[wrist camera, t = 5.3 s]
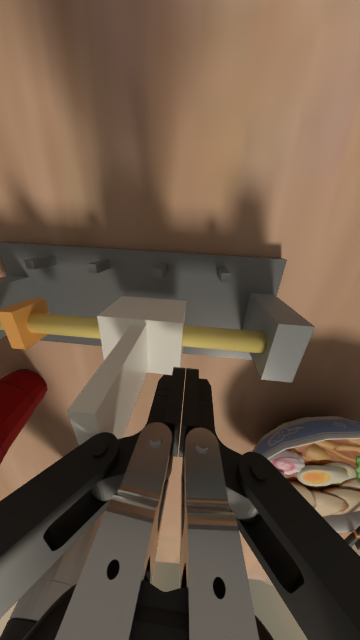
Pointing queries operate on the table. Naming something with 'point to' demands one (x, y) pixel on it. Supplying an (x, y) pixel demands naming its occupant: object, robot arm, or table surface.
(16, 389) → the plastic cup
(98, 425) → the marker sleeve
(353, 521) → the ramen bowl
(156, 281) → the cable comb fixture
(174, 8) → the table surface
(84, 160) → the table surface
